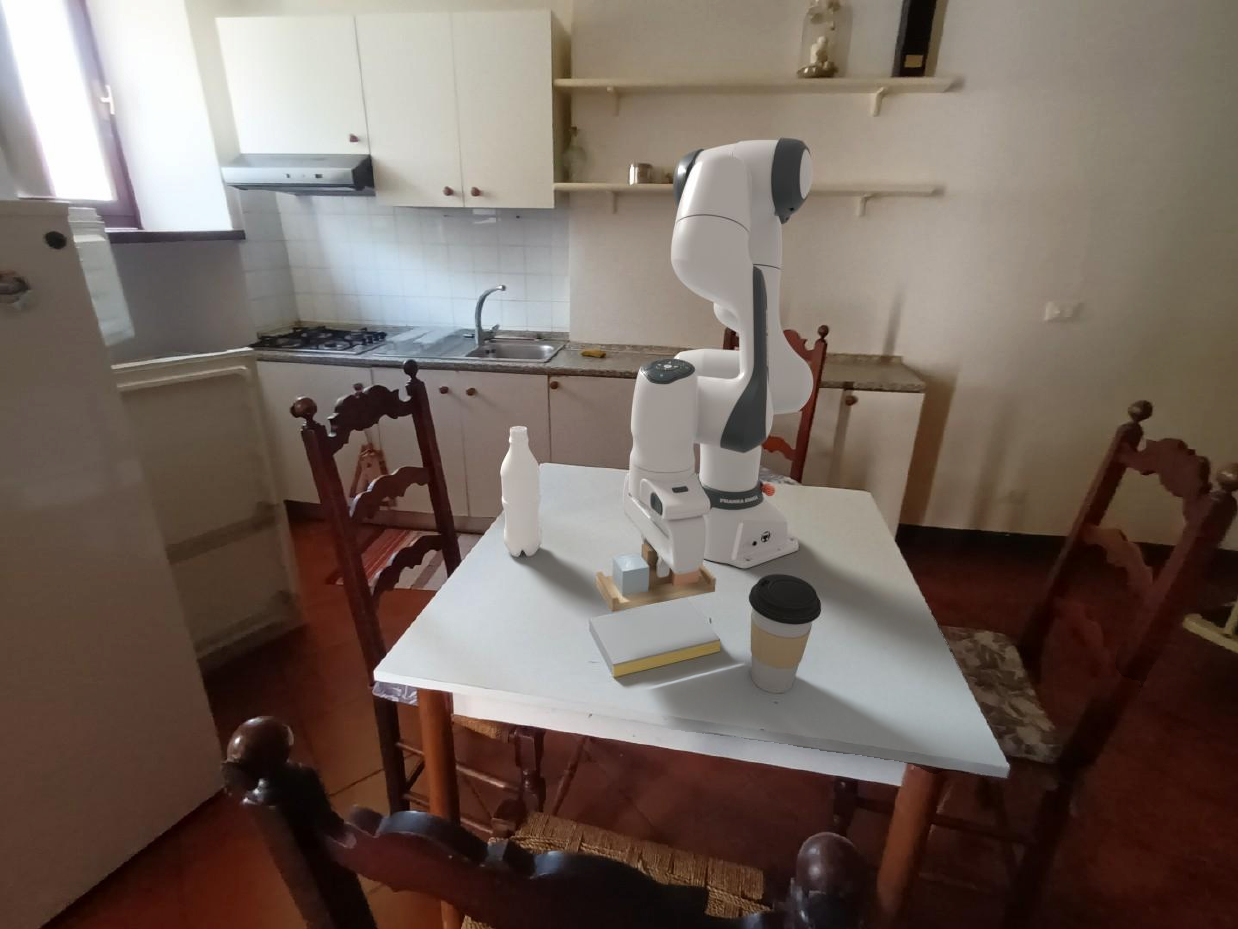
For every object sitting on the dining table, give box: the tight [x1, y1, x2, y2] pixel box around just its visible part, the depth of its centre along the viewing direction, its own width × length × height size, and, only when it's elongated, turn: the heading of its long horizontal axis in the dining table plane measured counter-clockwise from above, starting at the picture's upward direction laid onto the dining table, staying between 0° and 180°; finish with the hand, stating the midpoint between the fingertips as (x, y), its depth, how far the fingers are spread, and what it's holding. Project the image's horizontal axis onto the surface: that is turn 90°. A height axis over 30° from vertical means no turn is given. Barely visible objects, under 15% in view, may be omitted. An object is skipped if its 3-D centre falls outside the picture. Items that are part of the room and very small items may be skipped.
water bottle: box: [499, 425, 543, 558], centre depth 112 cm, size 7×7×25 cm
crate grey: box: [612, 552, 649, 596], centre depth 86 cm, size 4×4×4 cm
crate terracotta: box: [671, 568, 700, 586], centre depth 89 cm, size 4×4×4 cm
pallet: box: [595, 543, 717, 613], centre depth 88 cm, size 16×7×7 cm, turn 110°
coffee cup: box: [748, 573, 822, 694], centre depth 83 cm, size 9×9×15 cm
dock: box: [588, 597, 722, 678], centre depth 92 cm, size 17×11×2 cm, turn 110°
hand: (656, 568), depth 88 cm, fingers closed on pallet, 2 cm apart
